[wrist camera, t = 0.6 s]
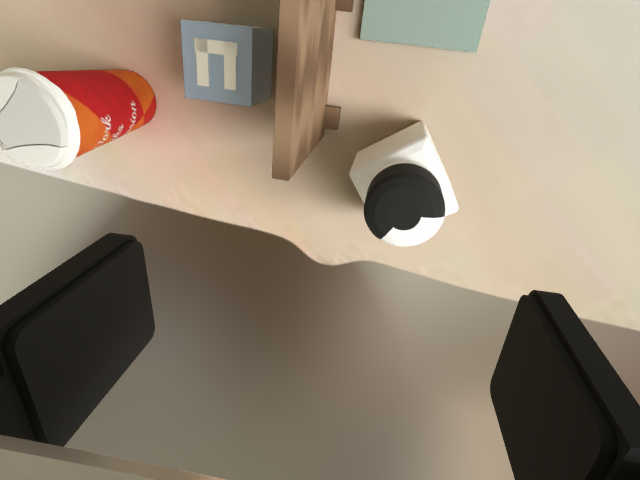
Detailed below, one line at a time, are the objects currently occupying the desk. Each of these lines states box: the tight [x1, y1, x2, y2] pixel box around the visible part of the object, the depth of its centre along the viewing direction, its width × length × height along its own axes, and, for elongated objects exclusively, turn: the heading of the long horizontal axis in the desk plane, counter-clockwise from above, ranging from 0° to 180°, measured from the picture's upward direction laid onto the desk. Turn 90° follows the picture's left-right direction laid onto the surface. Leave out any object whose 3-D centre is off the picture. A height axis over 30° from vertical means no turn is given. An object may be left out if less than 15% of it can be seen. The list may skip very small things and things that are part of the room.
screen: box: [272, 0, 354, 181], centre depth 30 cm, size 14×4×14 cm, turn 174°
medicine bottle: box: [349, 121, 458, 247], centre depth 35 cm, size 7×7×12 cm
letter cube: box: [180, 19, 274, 107], centre depth 35 cm, size 6×6×6 cm
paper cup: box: [0, 67, 156, 170], centre depth 36 cm, size 8×8×14 cm
